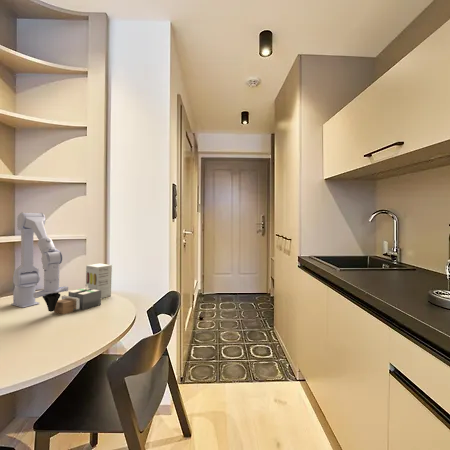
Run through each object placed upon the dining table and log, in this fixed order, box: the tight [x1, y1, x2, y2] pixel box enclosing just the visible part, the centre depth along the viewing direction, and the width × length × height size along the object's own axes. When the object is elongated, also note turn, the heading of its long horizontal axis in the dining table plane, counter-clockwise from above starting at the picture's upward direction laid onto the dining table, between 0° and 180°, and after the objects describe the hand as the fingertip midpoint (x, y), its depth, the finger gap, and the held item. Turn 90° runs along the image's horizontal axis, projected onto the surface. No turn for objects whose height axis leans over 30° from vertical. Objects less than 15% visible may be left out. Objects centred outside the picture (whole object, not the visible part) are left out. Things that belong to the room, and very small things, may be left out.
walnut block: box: [53, 298, 74, 315], centre depth 140 cm, size 6×5×5 cm
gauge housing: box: [67, 287, 102, 311], centre depth 150 cm, size 10×10×7 cm
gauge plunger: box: [61, 283, 88, 310], centre depth 147 cm, size 11×10×9 cm
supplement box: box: [85, 262, 113, 299], centre depth 167 cm, size 10×9×17 cm
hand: (51, 310), depth 135 cm, fingers closed
